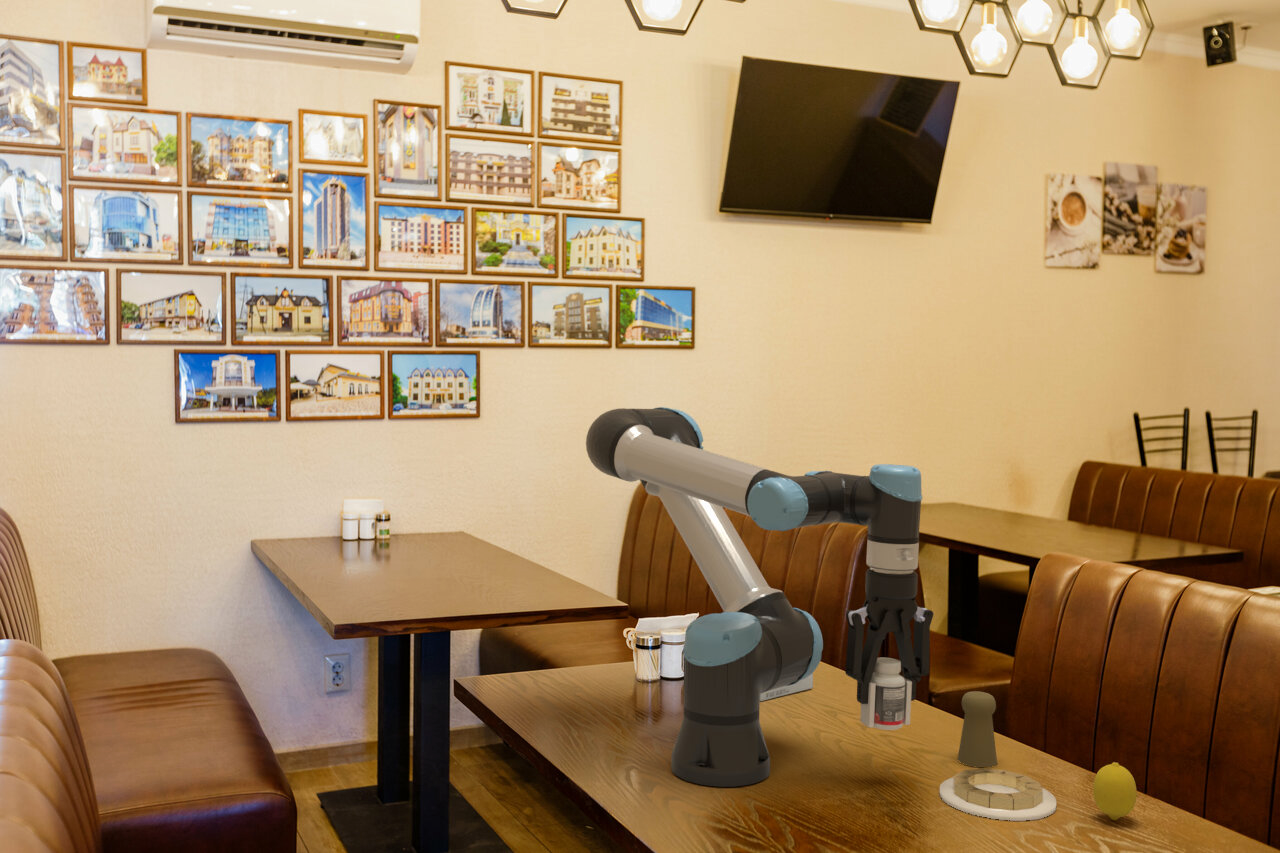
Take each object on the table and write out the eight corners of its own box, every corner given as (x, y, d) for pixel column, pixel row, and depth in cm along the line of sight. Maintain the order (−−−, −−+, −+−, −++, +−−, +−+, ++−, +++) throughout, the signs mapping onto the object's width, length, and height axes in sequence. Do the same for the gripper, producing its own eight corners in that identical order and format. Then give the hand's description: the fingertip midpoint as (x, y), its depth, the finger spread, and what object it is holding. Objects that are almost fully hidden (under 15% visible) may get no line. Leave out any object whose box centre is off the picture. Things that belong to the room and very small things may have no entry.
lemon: (1085, 819, 153) (1087, 762, 153) (1102, 809, 157) (1104, 753, 157) (1126, 831, 149) (1127, 772, 149) (1142, 820, 153) (1144, 763, 153)
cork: (966, 752, 181) (968, 685, 181) (1003, 761, 177) (1004, 692, 177) (951, 762, 176) (952, 693, 176) (988, 770, 172) (990, 700, 172)
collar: (986, 813, 153) (986, 802, 153) (937, 783, 164) (937, 772, 164) (1059, 804, 156) (1059, 793, 156) (1007, 776, 168) (1007, 765, 168)
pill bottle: (860, 720, 168) (863, 656, 168) (892, 718, 170) (895, 655, 169) (876, 731, 163) (879, 666, 163) (909, 730, 164) (912, 664, 164)
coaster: (982, 826, 150) (982, 820, 150) (918, 785, 165) (918, 780, 165) (1081, 814, 155) (1081, 808, 155) (1009, 775, 170) (1010, 770, 170)
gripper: (848, 575, 159) (841, 735, 160) (960, 572, 164) (952, 727, 165) (824, 566, 166) (818, 719, 167) (932, 563, 171) (925, 711, 173)
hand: (885, 722), depth 166 cm, fingers closed on pill bottle, 5 cm apart
